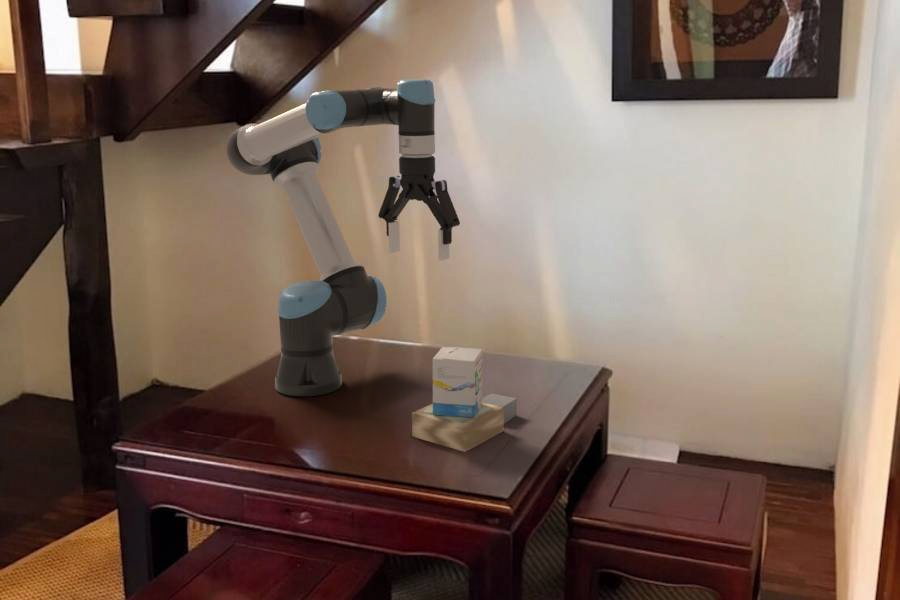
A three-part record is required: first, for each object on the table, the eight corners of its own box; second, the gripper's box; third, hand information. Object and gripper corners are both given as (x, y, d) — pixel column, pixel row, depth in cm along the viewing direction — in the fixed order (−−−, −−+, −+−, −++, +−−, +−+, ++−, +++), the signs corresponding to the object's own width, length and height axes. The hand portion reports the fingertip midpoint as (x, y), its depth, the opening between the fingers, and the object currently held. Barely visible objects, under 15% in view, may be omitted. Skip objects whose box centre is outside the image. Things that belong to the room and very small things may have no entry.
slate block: (477, 420, 206) (477, 401, 205) (491, 411, 211) (491, 393, 210) (502, 425, 203) (502, 407, 202) (516, 416, 208) (516, 398, 207)
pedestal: (412, 436, 198) (411, 411, 196) (452, 417, 208) (451, 393, 206) (465, 451, 190) (464, 426, 189) (503, 431, 200) (503, 406, 199)
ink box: (474, 418, 192) (474, 361, 190) (431, 415, 194) (430, 358, 191) (483, 403, 200) (483, 348, 198) (442, 400, 202) (441, 345, 200)
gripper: (360, 153, 212) (363, 251, 217) (453, 160, 197) (454, 265, 202) (383, 150, 217) (386, 245, 223) (476, 157, 203) (476, 259, 208)
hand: (418, 255), depth 212 cm, fingers open, 13 cm apart
